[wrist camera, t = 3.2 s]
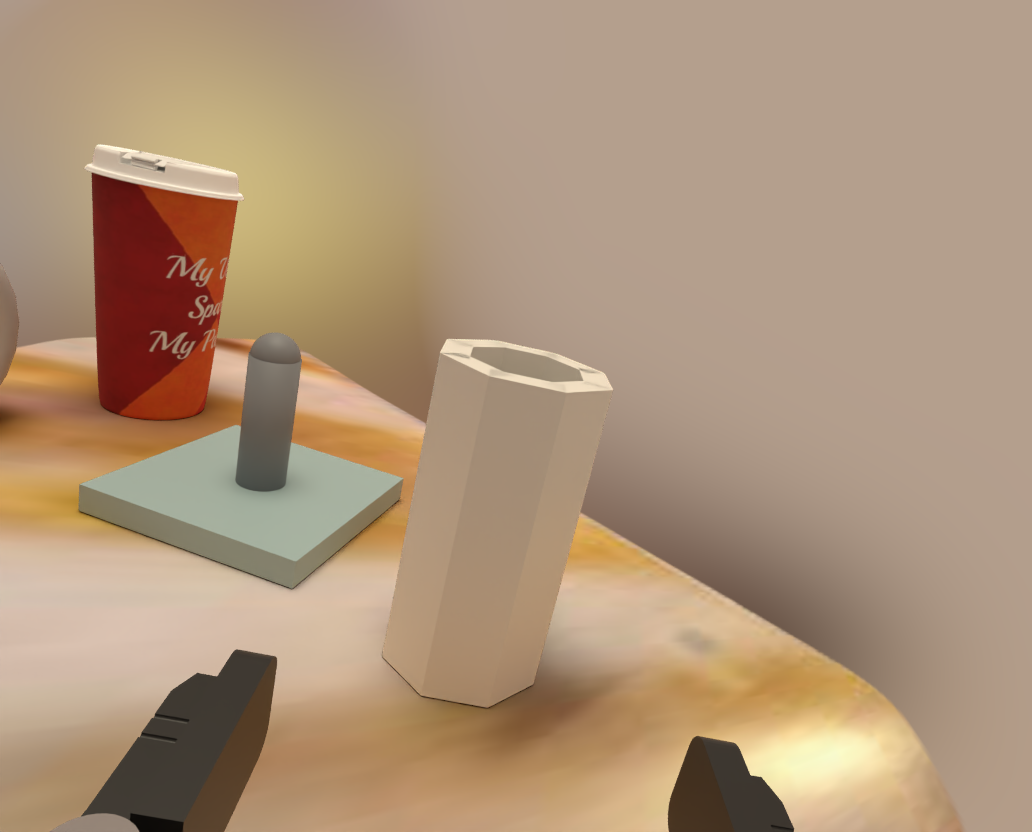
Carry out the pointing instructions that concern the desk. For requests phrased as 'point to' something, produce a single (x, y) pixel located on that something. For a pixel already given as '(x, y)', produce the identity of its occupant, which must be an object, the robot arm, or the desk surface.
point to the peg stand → (249, 485)
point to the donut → (7, 324)
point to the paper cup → (158, 278)
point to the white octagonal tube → (492, 517)
